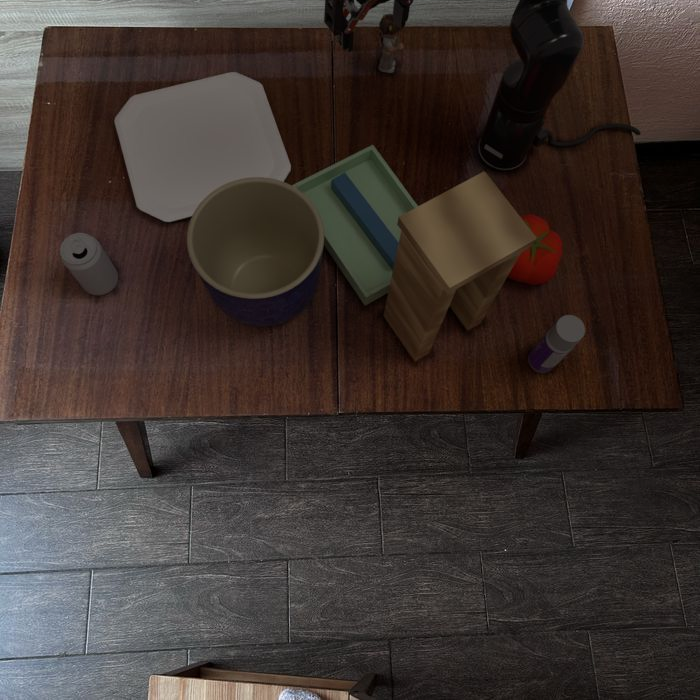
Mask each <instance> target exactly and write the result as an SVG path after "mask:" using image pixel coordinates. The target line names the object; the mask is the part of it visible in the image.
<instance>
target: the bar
mask: <svg viewBox="0 0 700 700" xmlns="http://www.w3.org/2000/svg"><path fill="white" fill-rule="evenodd" d="M331 189H332V191H333V192H334V193H335V195H336V196H337V197H338V199H339V200H340V201H341V203H342V204H343V205H344V207H345V208H346V209H347V211H348V212H349V213H350V215H351V216H352V217H353V219H354V220H355V221H356V223H357V224H358V225H359V227H360V228H361V229H362V231H363V232H364V233H365V235H366V236H367V237H368V239H369V240H370V241H371V242H372V244H373V245H374V246H375V248H376V249H377V250H378V252H379V253H380V254H381V256H382V257H383V258H384V260H385V261H386V262H387V264H388V265H389V266H390V268H391V269H392V270H393V267H394V262H395V258H396V253H397V248H398V243H399V242H398V241H397V240H396V239H395V237H394V236H393V235H392V233H391V232H390V231H389V229H388V228H387V227H386V225H385V224H384V223H383V222H382V220H381V219H380V218H379V216H378V215H377V214H376V212H375V211H374V210H373V208H372V207H371V206H370V205H369V203H368V202H367V201H366V199H365V198H364V197H363V195H362V194H361V193H360V191H359V190H358V189H357V188H356V186H355V185H354V184H353V182H352V181H351V180H350V178H349V177H348V176H347V174H346V173H343V174H341V175H339V176H338V177H336V178H334V179H332V180H331Z"/></svg>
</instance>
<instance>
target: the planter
mask: <svg viewBox="0 0 700 700" xmlns="http://www.w3.org/2000/svg"><path fill="white" fill-rule="evenodd" d="M292 185H293V184H292ZM292 185H291V184H290V183H287V182H285V181H284V182H282V181H279V180H276V179H271V178H263V177H251V178H244V179H239V180H235V181H232V182H229V183H227V184H225V185H223V186H221V187H219V188H217V189H216V190H214V191H213V192H211V193H210V194H209V195H208V196H207V197H206V198H204V200H203V201H202V202H201V203H200V204H199V206H198V207H197V208H196V210H195V212H194V213H193V215H192V217H190V220H189V223H188V226H187V230H186V231H187V232H186V248H187V254H188V257H189V259H190V262H191V264H192V266H193V268H194V270H195V271H196V273H197V275H198V276H199V278H200V280H201V282H202V283H203V286H204V287H205V288H206V291H207V292H208V294H209V296H210V297H211V300H212V301H213V302H214V303H215V304H216V306H217V307H218V308H219V309H220V310H221V311H222V312H223V313H224V314H226V315H227V316H228V317H229V318H231V319H233V320H235V321H237V322H238V323H241V324H243V325H247V326H251V327H257V328H258V327H259V328H268V327H274V326H275V327H276V326H278V325H281V324H284V323H287V322H288V321H290V320H292V319H294V318H295V317H297V316H298V315H299V314H301V313H302V312H303V311H304V310H305V309H306V307H307V306H308V305H309V303H310V302H311V301H312V299H313V297H314V295H315V293H316V291H317V288H318V284H319V280H320V275H321V269H322V268H321V267H322V260H323V255H324V254H323V252H324V247H325V246H324V227H323V223H322V220H321V217H320V214H319V212H318V210H317V209H316V207H315V206H314V204H313V203H312V202H311V200H310V199H309V198H308V197H307V196H306V195H305V194H304V193H302V192H301V191H300V190H298V189H297V188H295V187H293V186H292Z"/></svg>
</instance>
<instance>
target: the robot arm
mask: <svg viewBox="0 0 700 700" xmlns="http://www.w3.org/2000/svg"><path fill="white" fill-rule="evenodd" d="M355 1H356V2H357V3H358V4H359V5H360V6H359V8H358V6H357V5H356V4H355ZM389 1H391V0H324V13H323V14H324V16H323V22H324V24H325V25H326V27H327V28H328V29H329V31H330V32H331V34H333V36H334V37H337V44H339V46H340V47H341V49H342V50H343V51H345V52H346V53H350V52H352V51H354V35H355V34H354V33H355V31H354V30H355V27H356V26H357V25H358V23H359V22H360V21H363V20H364V19H365V18H366V16H367V14H368V13H369V11H370V10H372V9H374V8H376V7H377V6H378V5H381V4H385V3H387V2H389ZM393 3H394V4H393V6H394V7H392V11H393V12H392V14H393V20H394V22H395V23H396V25H397V26H398V27H399V28H402V29H403V28H404V27H406V23H407V22H408V19H409V17H410V8H411V6H412V4H413V3H414V0H394V1H393ZM349 14H350V17H349V19H347V18H348V16H349ZM508 32H509V37H510V41H511V44H512V45H513V47H514V49H515V50H516V51H515V52H516V53H517V55H518V57H519V58H518V59H516V60H514V61H512V62H511V63H510V64H509V65H507V66H506V68H505V69H504V71H503V73H502V74H501V75H502V76H501V79H500V82H499V83H498V87H497V90H496V93H495V97H494V99H493V102H492V106H491V108H490V110H489V114H488V118H487V120H486V123H485V125H484V129H483V131H482V134H481V137H480V139H479V140H478V141H479V142H478V145H477V153H478V157H479V159H480V160H481V162H482V163H483V164H484V165H485V166H486V167H488V168H489V169H492V170H493V171H497V172H502V173H507V172H513V171H515V170H517V169H519V168H521V166H523V164H524V163H525V162H526V159H527V157H528V155H529V154H531V152H532V150H533V147H534V148H538V147H540V146H542V145H544V144H545V142H546V139H547V138H548V139H547V141H548V143H549V144H550V145H551V146H553V147H557V148H567V147H572V146H573V147H574V146H578V145H580V144H583V143H585V142H587V141H588V140H589V139H590V138H591V137H592V136H594V134H596V133H597V132H599V131H603V130H609V129H621V130H626V131H630V132H632V133H633V134H635V135H636V136H641V131H640V130H639V129H638V128H637V127H635V126H632V125H629V124H626V123H625V124H624V123H606V124H601V125H598V126H595V127H593V128H592V129H590V131H589V132H588V133H587V134H585V135H584V136H583V137H581V138H578V139H575V140H570V141H563V142H562V141H556V140H554V135H553V133H552V131H550V130H549V129H544V128H543V126H544V124H545V119H544V118H545V116H546V114H547V111H548V109H549V107H550V105H551V103H552V101H553V99H554V97H556V95H557V94H558V93H559V92H560V91H561V89H563V87H564V85H565V84H566V82H567V80H568V79H569V76H570V74H571V73H572V72H573V69H574V67H575V66H576V64H577V63H578V61H579V58H580V56H581V54H582V52H583V49H584V44H585V37H584V34H583V31H582V30H581V28H580V27H579V25H578V23H577V21H576V20H575V18H574V16H573V14H572V12H571V10H570V9H569V7H568V0H519V1H518V3H517V5H516V7H515V9H514V11H513V14H512V15H511V19H510V21H509V25H508Z"/></svg>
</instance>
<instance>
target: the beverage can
mask: <svg viewBox="0 0 700 700" xmlns="http://www.w3.org/2000/svg"><path fill="white" fill-rule="evenodd" d="M59 251H60V259H61V261H62V263H63V264H64V266H65V267H66V268H67V269H68V271H69V272H70V273H71V275H72V276H73V277H74V278H75V280H76V281H77V282H78V283H79V285H80V286H81V288H82V289H83V290H84V291H85V292H86V293H87V294H89V295H93V296H104V295H107V294H108V293H110V292H112V291H113V290H114V289H115V287H116V286H117V285H118V283H119V273H118V271H117V268H116V267H115V265H114V264H113V262H112V261H111V259H110V257H109V256H108V255H107V253H106V251H105V250H104V248H103V247H102V245H101V243H100V242H99V241H98V240H97V239H96V238H95V237H94V236H92V235H90V234H88V233H84V232H76V233H73V234H70V235H68V236H67V237H66V238H64V240H63V241H62V242H61V244H60V248H59Z"/></svg>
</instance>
